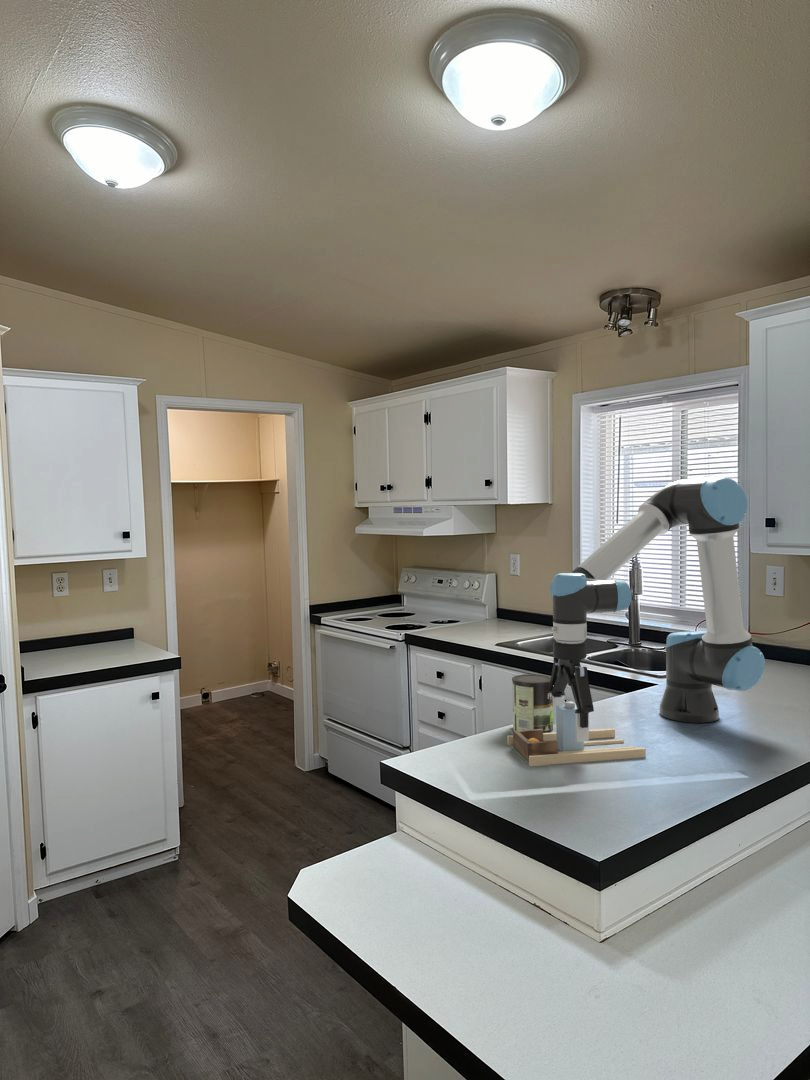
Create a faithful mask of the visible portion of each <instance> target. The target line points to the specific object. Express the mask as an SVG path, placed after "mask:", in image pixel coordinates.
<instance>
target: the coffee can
mask: <svg viewBox="0 0 810 1080" xmlns="http://www.w3.org/2000/svg"><path fill="white" fill-rule="evenodd" d="M550 679H551V676H547V675H545V674H535V673H533V674H529V673H526V674H517V675H515V676H512V677H511V681H512V726H513V727H512V729H513V731H517V730H532V729H543V733H552V732H554V731H553V730H554V724H553V696H552V694H551V692H550V691H549V684H550Z"/></svg>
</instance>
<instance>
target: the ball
mask: <svg viewBox="0 0 810 1080" xmlns="http://www.w3.org/2000/svg"><path fill="white" fill-rule="evenodd" d="M529 741H530V742H540V741H539V740H538V739H536V738H530V739H529Z"/></svg>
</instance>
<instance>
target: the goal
mask: <svg viewBox="0 0 810 1080" xmlns="http://www.w3.org/2000/svg"><path fill="white" fill-rule="evenodd" d="M512 733H513V734H512V735H513V748H514V749H515V750H516V751H517V752H518V753H519V754H520V755H522V756H523V757H524V758H525V759H526V760H527V761H528V762H529V756H534V755H548V754H558V752H559V750H558V741H556V740H554V741H543V729H532V730H517V731H515V730H513V732H512ZM530 738H536V739H538V740H539V741H540V742H530V741H529V739H530Z"/></svg>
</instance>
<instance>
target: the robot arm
mask: <svg viewBox="0 0 810 1080" xmlns="http://www.w3.org/2000/svg"><path fill="white" fill-rule="evenodd" d="M745 492H746V491H744V489H743V486H741V485H740V484H739V483H737V481H735V480H734V479H732V478H730V477H717V476H710V477H703V478H702V477H700V478H690V479H688V478H687V479H680V480H676V481H673V482H671V483H669V484H667V485H666V486H664V487H663V488H661V489H660V490H658V491H657V492H655V493H654V494H652V495H651V496H650V497H649V498H648V499H647V500H646V501H644V502H643V503H642V504H641V505H639V507H638V510H637V513H636V514H635V515H634V516H633V517H632V518H631V519H629V521H628V522H626V523H625V524H624V525H623V526H622V527H620V528H619V529H618V530H617V532H615V533H614V534H613V535H612V536H611V537H609V538H608V539H607V540H605V542H604V543H603V544H601V545H600V547H598V548H597V549H595V550H594V551H593V552H592V553H591V554H590V555H589V556H588V557H587V558H586V559H584V560H583V561H582V562H581V563H579V565H578V566H577V567H575V568H574V569H573V570H572V571H571V572H562V573H560V572H559V573H557V574H555V575H554V576H553V579H552V581H551V582H550V584H549V595H550V597H551V599H552V624H553V625H552V626H551V631H553V632H552V637H553V639H554V641H553V642H552V656H553V665H552V671H551V674H550V677H551V679H550V684H549V691H550V692H551V694H552V696H553V726H556V705H565V702H566V701H565V699H566V697H565V696H566V692H565V690H566V688H567V685H568V687H569V686H570V689H571V691H572V692H571V693H572V695H573V698H574V702H575V704H576V707H577V709H576V711H575V713H576V741H577V742H589V741H590V739H589V730H590V729H589V728H590V727H589V726H590V725H589V723H590V719H589V718H590V717H589V716H590V715H589V714H590V713H593V712H594V711H595V709H594V704H593V699H592V698H593V697H592V694H591V688H590V682H589V678H588V667H587V666H581V661H582V660H584V659H586V658H587V657H588V655H587V650H588V649H587V647H588V646H587V643H586V640H587V639H588V635H587V634H588V633H587V632H588V631H587V629H588V628H587V626H588V625H587V623H588V622H587V615H588V614H599V613H617V612H622V611H626V609H628V608H629V606H630V605H631V602H632V590H631V587H630V586H629V584H628V583H627V582H626V581H624V580H623V579H614V578H611V577H613V575H615V574H616V573H617V572H618V571H619V570H620V569H621V568H622V567H624V566H625V565H626V564H627V563H628V562H629V561H630V560H631V559H632V558H634V557H635V556H637V554H638V553H640V552H641V551H642V550H643V549H644V548H645V547H646V546H647V545H649V544H650V543H651V541H652V540H654V539H655V538H656V537H657V536H658V535H664V534H666V533H668V531H670V530H671V529H672V528H674V527H677V526H680V525H688V533H689V535H690V536H691V537H693V538H694V539H695V540H696V546H697V547H696V548H697V554H698V555H697V556H698V563H699V570H700V572H699V573H700V578H701V579H700V582H701V588H702V589H701V590H702V597H703V604H704V614H705V624H706V630H703V631H702V630H701V631H700V630H698V631H696V630H695V631H694V630H691V631H678V632H671V633H669V634H668V635H667V636H666V643H665V644H666V645H665V667H666V668H665V674H666V675H665V677H666V683H665V684H666V685H665V689H664V692H663V695H662V698H661V701H660V704H659V715H660V716H662V717H664V718H666V719H669V720H672V721H677V722H684V723H693V724H699V723H700V724H703V723H712V722H716V721H718V720H719V718H720V710H719V706H718V704H717V700H716V697H715V694H714V692H713V686H717V687H720V688H722V689H723V688H724V689H727V690H729V691H737V692H746V691H749V690H751V689H753V688H754V687H755V686H756V685H758V684H759V682H760V680H761V679H762V678H763V675H764V672H765V666H766V661H765V656H764V654H763V652H762V651H761V649H759V648H758V647H756V646H754V645H753V641H752V635H751V633H750V632H748V630H747V631H746V629H745V627H744V620H743V619H744V618H743V610H742V603H741V594H740V583H739V575H738V566H737V557H736V556H737V555H736V548H735V541H734V540H735V539H734V536H735V535H736V533H737V532H738V531H739V530H740V525H739V524H740V522H741V521H743V520H744V518H745V517H746V513H747V511H748V498H747V495H746V493H745ZM610 578H611V579H610Z"/></svg>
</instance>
